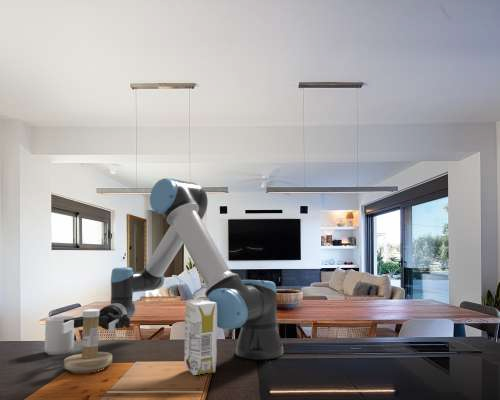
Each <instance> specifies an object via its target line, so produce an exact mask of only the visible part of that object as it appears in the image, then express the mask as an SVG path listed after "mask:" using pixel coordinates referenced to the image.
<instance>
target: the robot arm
mask: <svg viewBox="0 0 500 400" xmlns="http://www.w3.org/2000/svg"><path fill="white" fill-rule="evenodd" d="M208 201H209V199H208V195H207V193H206V190H205V189H204V188H203V187H202V186H201V185H199V184H197V183H195V182H190V181H184V180H179V179H174V178H161V179H159V180H158V181H157V182H155V184H154V185H153V186H152V189H151V191H150V195H149V204H150V207H151V210H152V211H153V212H155V213H157V214H161V215H163V217H164V219H165V221H166V223H167V224H168V225H169V227H168V229H167V231H165V232H166V233H165V234H164V236H163V237H162V239H161V241H160V242H159V244H158V245H157V247H156V248H155V250H154V252H153V254H152V255H151V256H150V259H149V260H148V261H147V263H146V265H145V267H144V268H143V270H141V271H134V269H133V267H129V266H127V267H115V268H113V269H112V270H111V276H110V293H111V294H110V295H111V296H110V304H109V305H106V306H104V307H102V308H101V309H99V322H98V326H99V327H100V328H102V329H104V330H108V334H112V333H113V332H116V331H117V330H119V329H123V328H124V327H125V328H128V329H129V328H130V327H131V318H132V317H133V316H134V315H135V313H136V305H135V303H134V302H133V295H134V293H138V292H139V293H140V292H147V291H154V290H158V289H160V288H162V287H163V286H164V282H165V275H164V274H165V273H166V271H167V270H168V268H169V266H170V265H171V264H172V262H173V260H174V258H175V257H176V256H177V254H178V253H179V251H180V249H181V248H182V246H183V245H184V246H185V248H186V250H187V252H188V254H189V256H190V258H191V260H192V262H193V263H194V265H195V267H196V269H197V271H198V273H199V274H200V277H201V278H202V280H203V282H204V285H205V286H206V289H205V292H204V295H205V298H208V299H209V300H210V301H212V302H216V303H217V328H219V329H222V330H234V329H235V330H236V329H238V328H240V331H239V335H238V338H237V343H236V345H235V346H236V347H235V355H236V356H237V357H239V358H242V359H245V360H246V359H247V360H271V359H276V358H279V357H281V356H283V354H284V346H283V343H282V339H281V336H280V334H279V331H278V317H277V315H278V311H277V309H278V307H277V304H278V303H277V294H278V292H277V286H276V283H275V282H274V281H270V280H260V279H257V280H256V279H241V277H240V275H239V274H238V273H234V272H232V270H231V269H230V268H229V266H228V264H227V262H226V260H225V259H224V257H223V255H222V253H221V252H220V251H219V248H218V246H217V245H216V243H215V241H214V240H213V238H212V236H211V234H210V232H209V231H208V229H207V227H206V225H205V223H204V222H203V218H204V217H205V214H206V212H207V210H208V203H209V202H208ZM74 328H75V329H77V328H78V329H79V328H83V315H82V316H77V317H75V318H71V319H65V320H64V323H63V324H61V334H64V333H67V332H69V331H71V330H73V329H74Z"/></svg>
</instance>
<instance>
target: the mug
mask: <svg viewBox="0 0 500 400" xmlns="http://www.w3.org/2000/svg"><path fill="white" fill-rule="evenodd" d="M71 318H76V317H75V316H72V315H60V316H59V315H58V316H53V317H48V318H45V325H44V326H45V329H44V330H45V331H44V336H45V337H44V352H45V353H46V354H47V355H48V356H58V355H64V354H68V353H71V351H72V350H74V347H75V345H74V344H75V333H76V331H75V330H76V328H74V329H73V330H71V331H69V332H67V333H64V334H61V324H63V323H64V320H65V319H71Z"/></svg>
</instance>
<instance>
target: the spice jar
mask: <svg viewBox="0 0 500 400" xmlns="http://www.w3.org/2000/svg"><path fill="white" fill-rule="evenodd" d="M99 311H100V309H99V308H89V309H84V310H82V316H83V327H82V339H81V341H82V342H81V345H82V346H81V347H82V348H81V350H82V351H81V353H82V356H81V357H82V358H83V359H91V358H96V357H97V356H98V352H99V351H98V350H99V329H100V326H98V322H99Z"/></svg>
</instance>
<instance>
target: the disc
mask: <svg viewBox="0 0 500 400" xmlns="http://www.w3.org/2000/svg"><path fill="white" fill-rule="evenodd" d="M81 356H82V352H80V353H76V354H73V355H69V356H68V357H66V358H64V360H63V369H64V370H67V371H69V373H71V374H77V375H78V374H79V375H80V374H81V375H83V374H84V373H85V374H90V373H89V372H93V373H95V372H94V371H97V372H99V371H98V370H101V369H103V368H105V367H106V366H107V367H108V366H110V365H111V364H112V363H113V354H112V353H111V352H107V351H98V356H97V357H96V358H91V359H83V358H82V357H81ZM107 367H106V368H107ZM106 368H105V369H106ZM103 370H104V369H103ZM101 371H102V370H101Z"/></svg>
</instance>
